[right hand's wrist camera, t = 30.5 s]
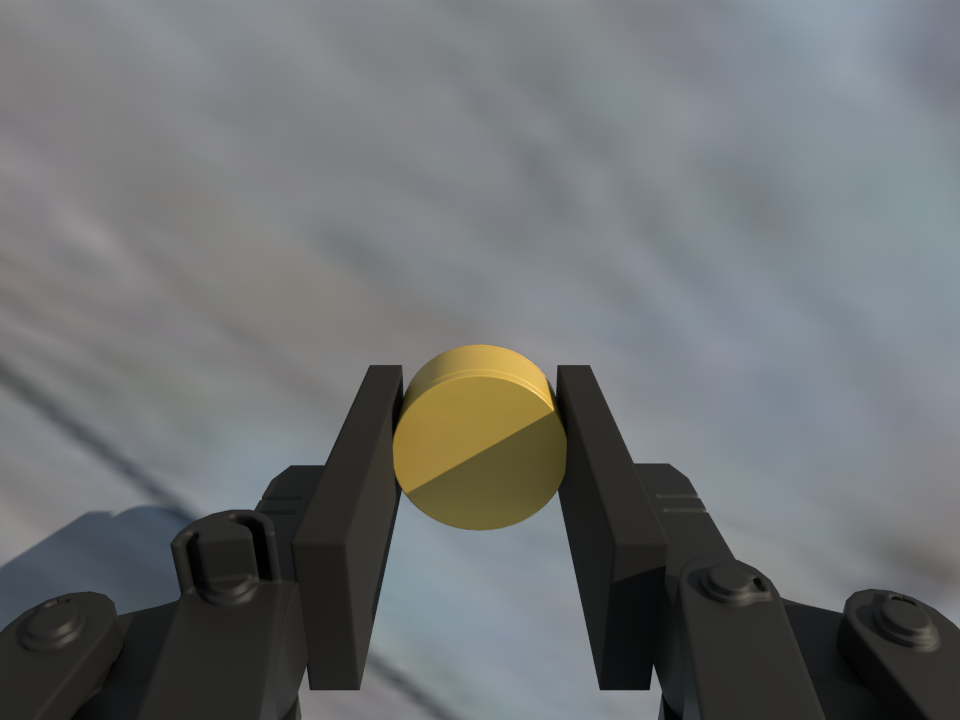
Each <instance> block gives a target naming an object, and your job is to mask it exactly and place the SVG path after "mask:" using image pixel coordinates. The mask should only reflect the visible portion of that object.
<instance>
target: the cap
mask: <svg viewBox="0 0 960 720" xmlns="http://www.w3.org/2000/svg"><path fill="white" fill-rule="evenodd" d="M566 451H567V435H566V432H565V428H564V425H563V421H562V417H561V414H560V410H559V407H558V403H557V400H556V396H555V393H554V391H553V388H552V386H551V384H550V382H549V381H548V379H547V378H546V376H545V375H544V374H543V373H542V372H541V371H540V369H539V368H538V367H537V366H535V365H534V364H533V363H532V362H531V361H529V360H528V359H526V358H525V357H523V356H522V355H520V354H518V353H516V352H513V351H511V350H508V349H505V348H502V347H497V346H492V345H468V346H463V347H458V348H455V349H452V350H449V351H446V352H444V353H442V354H440V355H438V356H437V357H435V358H433V359H432V360H430V361H429V362H428V363H427V364H425V365H424V366H423V367H422V368H421V369H420V370H419V371H418V372H417V373H416V375H415V376H414V378H413V379H412V381H411V382H410V384H409V386H408V388H407V390H406V392H405V395H404V398H403V402H402V405H401V409H400V413H399V416H398V420H397V424H396V427H395V431H394V434H393V458H394V473H395V476H396V479H397V481H398V483H399V485H400V487H401V489H402V490H403V492H404V493H405V495H406V496H407V497H408V498H409V500H410V501H411V502H412V503H413V504H414V505H415V506H416V507H417V508H418V509H419V510H421V511H422V512H424V513H425V514H426V515H428V516H429V517H431V518H433V519H435V520H437V521H439V522H441V523H444V524H446V525H449V526H452V527H456V528H461V529H467V530H493V529H499V528H504V527H507V526H511V525H514V524H516V523H519V522H521V521H523V520H525V519H527V518H529V517H530V516H532V515H533V514H535V513H536V512H538V511H539V510H540V509H541V508H542V507H544V506H545V505H546V504H547V503H548V502H549V501H550V499H551V498H552V497H553V496H554V494H555V493H556V491H557V490H558V488H559V487H560V485H561V483H562V480H563V478H564V476H565V468H566Z"/></svg>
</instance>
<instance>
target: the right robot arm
mask: <svg viewBox="0 0 960 720" xmlns="http://www.w3.org/2000/svg"><path fill="white" fill-rule="evenodd" d="M403 398H404V395H403V375H402V365H370V366H369V368H368V371H367V373H366V375H365V377H364V380H363V382H362V384H361V386H360V388H359V391H358V393H357V395H356V397H355V400H354V402H353V404H352V406H351V409H350V411H349V413H348V415H347V417H346V420H345V422H344V424H343V426H342V429H341V431H340V433H339V435H338V437H337V440H336V442H335V444H334V446H333V449H332V451H331V453H330V455H329V457H328V460H327V462H326V464H325V465H291V466H290V467H288V468H287V469H286V470H284V471H283V472H282V473H280V474H279V475H278V476H276V477H275V478H274V479H273V480H272V481H271V482H270V484H269V486H268V487H267V489H266V491H265V493H264V494H263V496H262V500H260V501H259V503H258V505H257V506H256V508H255V510H254V511H253V510H228V511H223V512H218V513H214V514H211V515H208V516H206V517H204V518H201V519H199V520H196V521H194V522H193V523H191V524H190V525H189V526H187V527H186V528H184V529H183V530H181V531H180V532H179V533H178V534H177V536H176V537H175V538H174V540H173V541H172V542H171V544H170V545H171V550H172V554H173V559H174V563H175V568H176V572H177V577H178V581H179V586H180V590H181V596H180V599H179V600H177V601H175V602H172V603H168V604H165V605H162V606H158V607H154V608H149V609H145V610H141V611H136V612H132V613H128V614H123V615H119V616H118V615H117V612H116V608H115V604H114V603H113V602H112V601H111V600H110V599H109V598H108V597H107V596H106V595H104V594H99V593H94V592H79V593H69V594H66V595H63V596H60V597H56V598H53V599H50V600H47V601H45V602H43V603H41V604H39V605H37V606H35V607H33V608H32V609H30V610H28V611H26V612H24V613H23V614H22V615H20V616H19V617H18V618H17V619H15V620H14V621H13V622H12V623H10V624H9V625H8V626H7V627H6V628H5V629H4V630H3V631H2V632H1V633H0V720H301V711H300V704H299V697H298V691H299V687H300V684H301V681H302V678H303V675H304V672H305V669H306V665H307V672H308V679H309V687H310V690H360V686H361V681H362V676H363V672H364V667H365V662H366V658H367V653H368V648H369V643H370V639H371V634H372V629H373V624H374V620H375V615H376V610H377V605H378V601H379V596H380V591H381V586H382V582H383V577H384V572H385V567H386V563H387V558H388V553H389V548H390V544H391V539H392V534H393V529H394V525H395V520H396V515H397V511H398V506H399V501H400V496H401V492H402V489H401V487H400V485H399V483H398V481H397V479H396V476H395V473H394V458H393V434H394V431H395V427H396V424H397V420H398V416H399V413H400V409H401V405H402V402H403ZM556 400H557V403H558V407H559V410H560V414H561V417H562V421H563V425H564V428H565V432H566V435H567V451H566V468H565V476H564V478H563V480H562V483H561V485H560V487H559V488H558V493H559V498H560V503H561V508H562V512H563V517H564V522H565V527H566V531H567V536H568V541H569V546H570V550H571V555H572V560H573V565H574V569H575V574H576V579H577V583H578V588H579V593H580V598H581V602H582V607H583V612H584V617H585V621H586V626H587V631H588V636H589V640H590V645H591V650H592V655H593V659H594V664H595V669H596V674H597V678H598V683H599V688H600V690H650V684H651V676H652V669H653V664H654V667H655V670H656V673H657V676H658V679H659V683H660V686H661V689H662V697H661V704H660V710H659V717H658V720H960V629H959V628H958V627H957V626H956V625H955V624H954V623H952V622H951V621H950V620H948V619H947V618H946V617H945V616H943V615H942V614H941V613H940V612H938V611H937V610H936V609H934V608H932V607H930V606H928V605H926V604H924V603H922V602H920V601H918V600H917V599H915V598H912V597H909V596H906V595H903V594H899V593H896V592H893V591H887V590H877V589H868V590H863V591H858V592H855V593H854V594H852V595H851V596H850V597H849V598H848V599H847V600H846V603H845V606H844V610H843V613H839V612H835V611H830V610H826V609H821V608H817V607H813V606H808V605H804V604H800V603H796V602H793V601H790V600H786V599H784V598H782V597H780V595H779V593H778V591H777V590H776V588H775V587H774V585H773V583H772V582H771V580H770V579H768V578H767V577H766V576H765V575H763V574H762V573H761V572H760V571H758V570H757V569H756V568H754V567H752V566H749V565H747V564H745V563H743V562H741V561H739V560H736V559H735V558H734V556H733V554H732V553H731V551H730V549H729V547H728V546H727V544H726V542H725V541H724V539H723V537H722V535H721V534H720V532H719V530H718V529H717V527H716V525H715V523H714V522H713V520H712V518H711V517H710V515H709V513H706V508H705V506H704V505H703V503H702V501H701V499H700V498H698V494H697V493H696V491H695V489H694V487H693V486H692V484H691V482H690V481H689V479H688V478H687V477H686V476H685V475H683V474H682V473H681V472H679V471H678V470H677V469H675V468H674V467H673V466H671V465H670V464H634V463H633V461H632V458H631V456H630V454H629V452H628V449H627V447H626V445H625V443H624V441H623V438H622V436H621V434H620V432H619V429H618V427H617V425H616V423H615V421H614V418H613V416H612V414H611V412H610V409H609V407H608V405H607V403H606V401H605V398H604V396H603V394H602V392H601V389H600V387H599V385H598V383H597V381H596V378H595V376H594V374H593V372H592V369H591V367H590V365H558V367H557V387H556Z"/></svg>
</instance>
